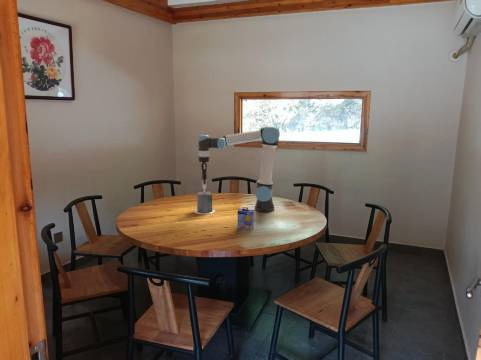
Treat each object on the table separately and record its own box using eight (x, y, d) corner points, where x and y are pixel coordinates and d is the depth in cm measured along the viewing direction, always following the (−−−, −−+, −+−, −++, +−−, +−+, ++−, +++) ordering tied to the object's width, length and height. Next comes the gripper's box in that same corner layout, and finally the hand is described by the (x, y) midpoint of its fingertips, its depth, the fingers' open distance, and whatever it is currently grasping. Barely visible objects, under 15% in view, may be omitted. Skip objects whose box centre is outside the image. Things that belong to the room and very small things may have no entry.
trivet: (214, 209, 285) (214, 208, 285) (216, 214, 270) (216, 213, 270) (193, 210, 283) (193, 209, 283) (194, 215, 267) (194, 214, 267)
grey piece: (211, 208, 285) (211, 190, 283) (212, 213, 271) (212, 194, 269) (196, 208, 283) (196, 190, 281) (197, 213, 270) (197, 194, 267)
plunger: (209, 202, 279) (209, 177, 276) (210, 204, 272) (210, 179, 268) (199, 202, 278) (198, 178, 275) (199, 205, 270) (199, 179, 267)
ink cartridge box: (237, 229, 237) (237, 207, 234) (238, 226, 242) (238, 205, 239) (252, 230, 235) (252, 208, 232) (253, 227, 240) (253, 206, 237)
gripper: (198, 155, 276) (198, 185, 280) (199, 157, 260) (199, 190, 264) (208, 154, 277) (208, 185, 282) (209, 157, 261) (210, 190, 265)
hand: (204, 187), depth 273 cm, fingers closed on plunger, 4 cm apart
